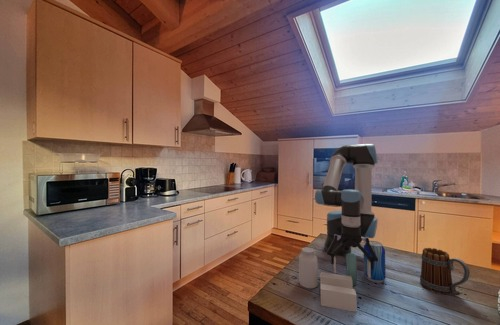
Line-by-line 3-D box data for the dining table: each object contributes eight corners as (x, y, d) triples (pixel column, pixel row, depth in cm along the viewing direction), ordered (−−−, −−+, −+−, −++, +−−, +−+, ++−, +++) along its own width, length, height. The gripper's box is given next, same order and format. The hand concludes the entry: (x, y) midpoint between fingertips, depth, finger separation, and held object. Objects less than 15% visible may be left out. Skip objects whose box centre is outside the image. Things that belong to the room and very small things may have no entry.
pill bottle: (303, 290, 87) (303, 253, 87) (296, 279, 95) (296, 246, 95) (321, 288, 88) (321, 252, 88) (312, 277, 96) (312, 245, 96)
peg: (346, 279, 94) (345, 253, 94) (355, 281, 93) (355, 254, 93) (347, 284, 90) (346, 256, 90) (357, 286, 89) (357, 257, 89)
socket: (320, 285, 90) (320, 271, 90) (351, 291, 86) (351, 276, 86) (320, 305, 77) (320, 288, 77) (356, 312, 74) (356, 295, 74)
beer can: (388, 284, 90) (388, 247, 90) (367, 282, 92) (367, 246, 92) (380, 274, 98) (380, 240, 98) (361, 272, 100) (361, 239, 100)
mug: (414, 283, 91) (413, 248, 91) (429, 278, 95) (428, 245, 95) (461, 305, 76) (460, 264, 76) (476, 298, 80) (475, 259, 80)
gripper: (321, 224, 92) (321, 273, 92) (386, 230, 84) (386, 283, 84) (320, 220, 99) (321, 265, 99) (380, 225, 92) (381, 274, 91)
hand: (351, 273), depth 92 cm, fingers open, 13 cm apart
